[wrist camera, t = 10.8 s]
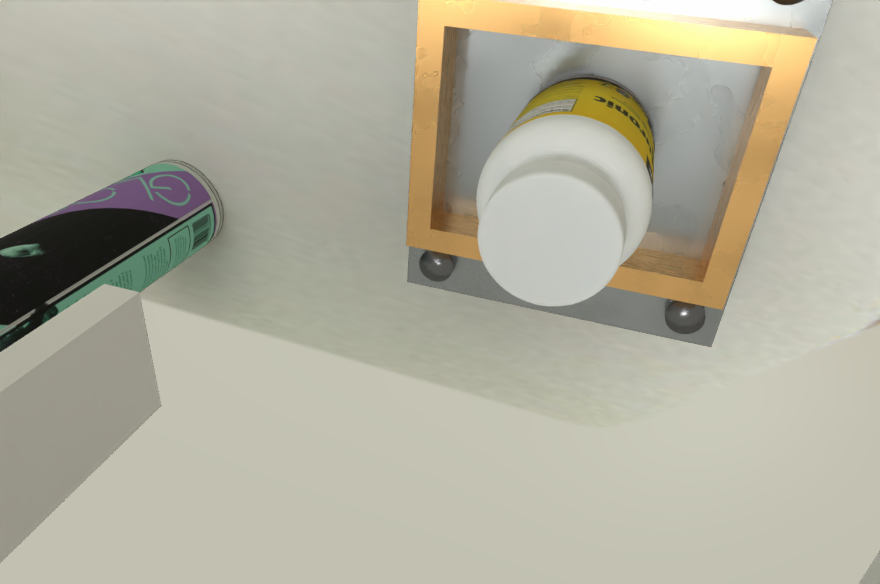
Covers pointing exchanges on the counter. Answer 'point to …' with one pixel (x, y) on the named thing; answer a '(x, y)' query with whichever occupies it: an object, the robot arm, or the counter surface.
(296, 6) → the counter surface
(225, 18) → the counter surface
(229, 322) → the counter surface
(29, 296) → the spray can
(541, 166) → the supplement bottle
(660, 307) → the mold
